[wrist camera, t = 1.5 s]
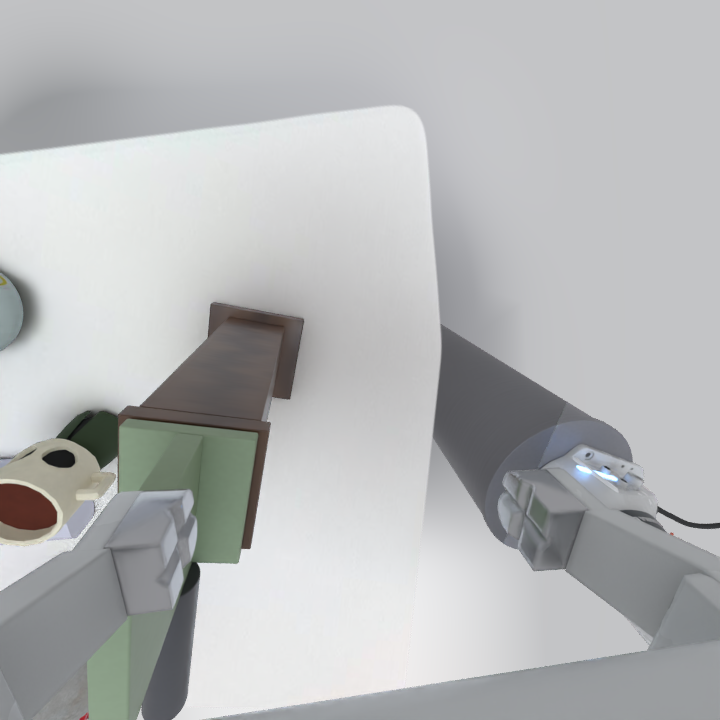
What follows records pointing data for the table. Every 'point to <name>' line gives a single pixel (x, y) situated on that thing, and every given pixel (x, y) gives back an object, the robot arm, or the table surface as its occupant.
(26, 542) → the character mug
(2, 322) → the air freshener
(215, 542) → the green t-shaped block
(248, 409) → the walnut stand
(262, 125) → the table surface
